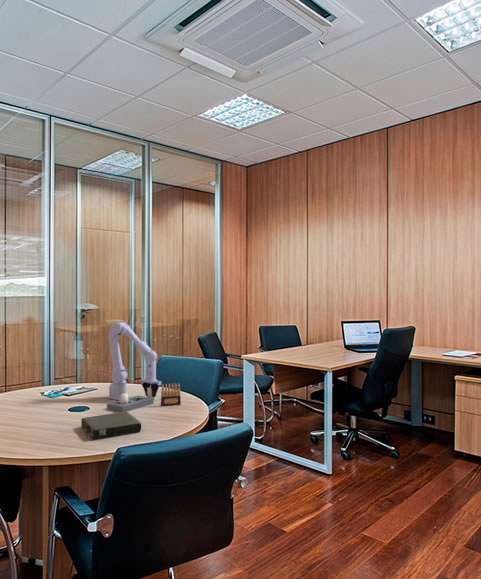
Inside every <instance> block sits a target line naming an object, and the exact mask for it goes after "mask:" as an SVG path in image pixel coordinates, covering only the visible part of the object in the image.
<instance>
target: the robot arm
mask: <svg viewBox="0 0 481 579" xmlns="http://www.w3.org/2000/svg"><path fill="white" fill-rule="evenodd" d="M107 336H108V337H107V340H108V344H109V350H110V351H109V352H110V356H111V362H112V367H113V368H112V370H111V377H110V378H111V381H112V382H111V383H110V385H109V386H108V388H109V389H108V395H109V396H108V397H107V399H111V400H114V401H115V400H116V401H119V400H121V394H122V393H127V379H128V377H129V374H128V372H127V370H126V367H125V366H124V365H123V360H122V359H123V358H122V355H121V349H120V348H121V347H120V343H119V339H120V337H121V336H127V337H128V338H129V339H130V340H131V341H132V342H133V343H134V344H135V345H136V346H135V347H136V349H137V351H138V352H139V353H140V354H141V355H142V356H143V358H144V361H145V378H141V379H140V383H142V384H141V387H142V388H143V391H144V394H145V397H147V387H151V389H152V397H154V398H155V397H157V393H158V390H159V388H160V387H161V386H162V381H161V380H158V379H157V358H158V353H157V352H156V351H155V350H153V349H152V348H151V347H150V346H149V345H148V342H145V341H142V340H141V339H140V338H139V336H138V335H137V334H136V333H135V331H134V330H132V328H131V327H130V325H129V324H128V323H127V322H125V321H120V322H114V323H112V325H111V326H110V327H109V332H108V335H107ZM128 398H130V396H128Z"/></svg>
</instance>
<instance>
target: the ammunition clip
mask: <svg viewBox="0 0 481 579" xmlns="http://www.w3.org/2000/svg"><path fill="white" fill-rule="evenodd" d="M177 383H178V384H177ZM177 383H176V382H175V383H173V382H172V383H171V384H170V383H168V385H167V383H165V386H164V384H163V383H161V392H160V393H161V395H160V407H173V406H174V405H175V406H181V403H182V402H181V400H182V399H181V386H180V383H179V382H177Z"/></svg>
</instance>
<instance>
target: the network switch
mask: <svg viewBox="0 0 481 579" xmlns="http://www.w3.org/2000/svg"><path fill="white" fill-rule="evenodd" d="M80 425H81V428H82V429H83V430H84V431H85V432H86V434H88V435H89V436H90V437H91V438H92V439H93V440H94V441H97V440H101V439H106V438H111V437H116V436H123V435H131V434H132V433H133V434H137V433H138V434H139V432H140V433H141V430H142V423H141V421H140V420H139V419H138V418H136V417H135V416H133V415H132V414H131V413H129V411H127V412H113V413H108V414H107V413H106V414H99V415H93V416H92V415H91V416H87V417H82V418H81V421H80Z"/></svg>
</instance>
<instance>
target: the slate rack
mask: <svg viewBox="0 0 481 579" xmlns="http://www.w3.org/2000/svg"><path fill="white" fill-rule="evenodd" d="M128 397H129V398H128ZM147 405H148V406H150V405H154V400H153V398H149V397H147V396H142V395H135V396H131V397H130V396H129V393H127V392H126V393H122V394H121V400H116V401H115V400H114V401H112V402H108V403H106V409H107V410H109V411H114V412H116V413H119V412H129V411H130V412H131V411H134V410H136V409H141V408H143V407H146V406H147Z"/></svg>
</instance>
